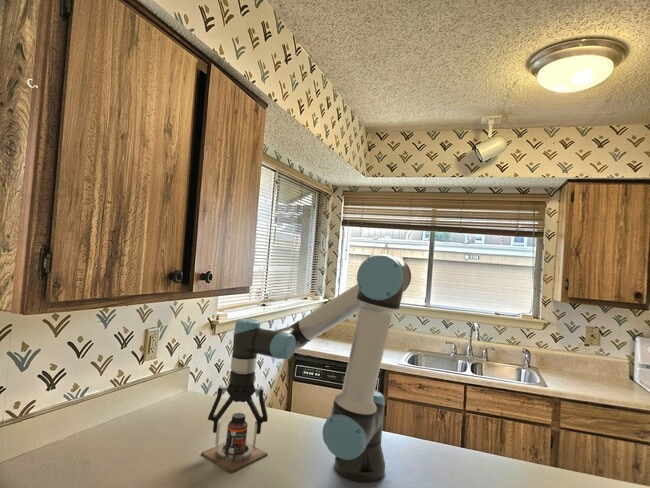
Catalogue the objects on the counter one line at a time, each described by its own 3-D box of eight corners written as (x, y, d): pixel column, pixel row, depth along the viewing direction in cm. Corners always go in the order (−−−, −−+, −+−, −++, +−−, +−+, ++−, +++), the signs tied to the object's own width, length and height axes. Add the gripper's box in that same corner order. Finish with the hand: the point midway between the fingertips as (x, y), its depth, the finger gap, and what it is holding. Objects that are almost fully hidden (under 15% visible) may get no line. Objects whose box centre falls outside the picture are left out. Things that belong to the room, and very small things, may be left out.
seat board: (267, 455, 117) (267, 453, 117) (231, 473, 106) (231, 471, 106) (237, 439, 125) (237, 437, 125) (201, 454, 114) (201, 452, 114)
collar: (259, 453, 117) (260, 449, 117) (232, 466, 108) (232, 462, 108) (237, 441, 123) (237, 437, 123) (209, 452, 115) (210, 448, 115)
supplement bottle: (233, 460, 112) (237, 421, 112) (220, 452, 115) (224, 414, 116) (248, 453, 116) (252, 415, 117) (236, 446, 120) (239, 409, 120)
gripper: (280, 368, 122) (273, 438, 121) (206, 364, 119) (199, 436, 118) (280, 375, 115) (273, 450, 114) (202, 372, 112) (194, 448, 111)
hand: (235, 443), depth 116 cm, fingers open, 10 cm apart
